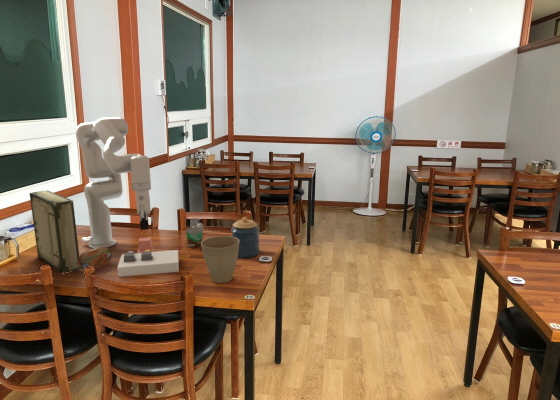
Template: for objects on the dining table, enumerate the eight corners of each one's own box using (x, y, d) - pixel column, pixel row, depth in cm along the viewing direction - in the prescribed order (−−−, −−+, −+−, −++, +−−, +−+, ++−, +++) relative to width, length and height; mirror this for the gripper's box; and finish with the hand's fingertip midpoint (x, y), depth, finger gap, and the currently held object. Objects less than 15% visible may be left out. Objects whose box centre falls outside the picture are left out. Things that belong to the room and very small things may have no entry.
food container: (199, 249, 210) (198, 229, 208) (186, 248, 212) (185, 228, 209) (208, 241, 222) (207, 222, 220) (196, 240, 223) (195, 221, 221)
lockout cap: (137, 258, 198) (136, 242, 196) (138, 253, 204) (137, 237, 203) (153, 257, 200) (152, 240, 198) (153, 252, 206) (152, 236, 204)
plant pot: (212, 271, 184) (211, 234, 180) (245, 274, 180) (245, 237, 176) (196, 285, 170) (194, 245, 166) (231, 289, 166) (230, 249, 162)
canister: (225, 253, 204) (224, 217, 200) (246, 247, 213) (245, 211, 209) (244, 260, 195) (244, 222, 192) (265, 253, 205) (264, 216, 201)
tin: (82, 274, 181) (80, 254, 179) (77, 272, 183) (75, 253, 181) (113, 263, 193) (111, 244, 192) (108, 261, 195) (106, 243, 193)
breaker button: (124, 266, 184) (123, 256, 183) (125, 263, 188) (124, 253, 187) (134, 265, 185) (133, 255, 184) (135, 262, 188) (134, 252, 187)
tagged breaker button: (142, 264, 185) (141, 254, 184) (142, 261, 189) (141, 251, 188) (151, 264, 186) (151, 254, 185) (152, 260, 190) (151, 251, 189)
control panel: (80, 269, 186) (73, 200, 179) (62, 274, 181) (53, 203, 174) (55, 252, 206) (47, 190, 200) (38, 256, 201) (29, 192, 195)
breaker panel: (118, 276, 178) (116, 263, 177) (122, 262, 193) (121, 250, 192) (178, 271, 183) (178, 258, 182) (178, 258, 199) (177, 246, 197)
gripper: (149, 189, 174) (153, 233, 178) (151, 182, 188) (154, 223, 192) (130, 190, 172) (133, 234, 176) (133, 183, 186) (136, 224, 191)
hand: (144, 228), depth 184 cm, fingers closed
